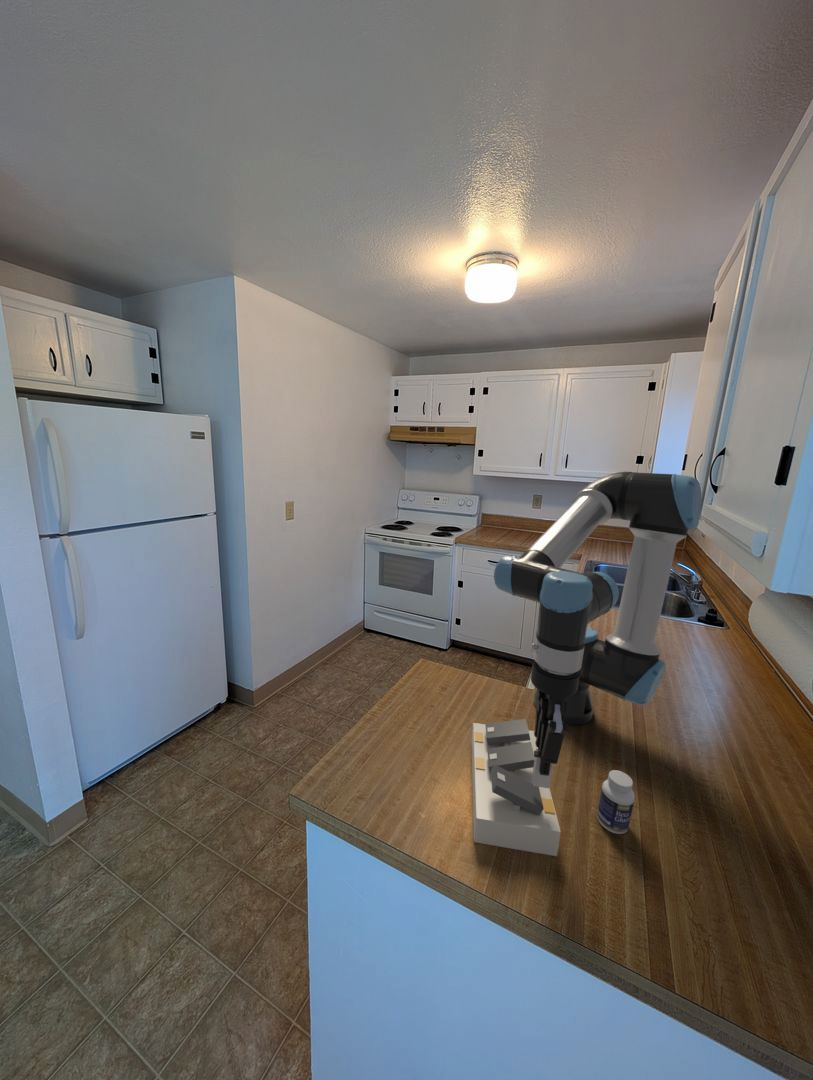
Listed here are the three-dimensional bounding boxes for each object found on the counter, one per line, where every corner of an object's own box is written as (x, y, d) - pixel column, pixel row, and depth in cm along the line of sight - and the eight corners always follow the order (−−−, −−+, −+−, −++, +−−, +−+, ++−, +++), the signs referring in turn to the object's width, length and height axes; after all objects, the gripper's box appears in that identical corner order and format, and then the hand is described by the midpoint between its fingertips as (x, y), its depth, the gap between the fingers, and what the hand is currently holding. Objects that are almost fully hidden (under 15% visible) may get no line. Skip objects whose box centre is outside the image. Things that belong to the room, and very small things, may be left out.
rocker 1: (526, 725, 91) (525, 718, 91) (530, 740, 86) (529, 732, 86) (486, 729, 92) (485, 722, 92) (487, 744, 88) (486, 737, 87)
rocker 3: (534, 792, 76) (538, 785, 76) (539, 815, 71) (544, 808, 71) (490, 770, 76) (494, 763, 76) (492, 792, 71) (496, 784, 71)
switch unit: (532, 750, 95) (535, 726, 93) (556, 856, 69) (561, 826, 68) (471, 741, 96) (473, 718, 95) (473, 842, 71) (477, 812, 70)
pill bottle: (614, 839, 73) (623, 793, 71) (590, 815, 78) (597, 771, 76) (635, 829, 75) (644, 784, 73) (610, 806, 80) (618, 763, 78)
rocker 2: (532, 748, 83) (530, 741, 83) (536, 766, 78) (534, 758, 78) (489, 755, 85) (487, 748, 84) (490, 773, 80) (488, 766, 80)
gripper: (527, 644, 75) (514, 754, 80) (540, 683, 62) (523, 811, 67) (569, 648, 74) (554, 760, 79) (591, 688, 61) (571, 818, 66)
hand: (540, 783), depth 73 cm, fingers closed
